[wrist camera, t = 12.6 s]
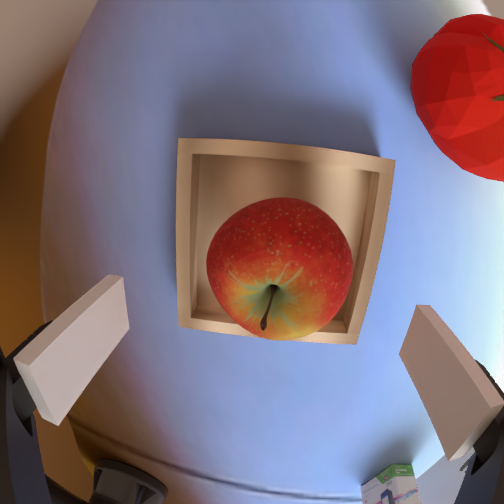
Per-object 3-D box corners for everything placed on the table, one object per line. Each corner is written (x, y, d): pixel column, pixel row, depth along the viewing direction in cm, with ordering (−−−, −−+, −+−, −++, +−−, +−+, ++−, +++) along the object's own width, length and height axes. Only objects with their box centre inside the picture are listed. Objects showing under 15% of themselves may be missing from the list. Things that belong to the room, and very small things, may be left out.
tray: (189, 308, 25) (178, 326, 22) (191, 139, 20) (178, 138, 18) (349, 324, 24) (356, 344, 21) (380, 158, 20) (395, 160, 17)
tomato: (480, 45, 14) (558, 17, 4) (506, 165, 18) (594, 187, 7) (368, 38, 16) (427, -31, 6) (403, 180, 20) (493, 211, 9)
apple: (355, 254, 21) (402, 329, 12) (268, 310, 23) (259, 405, 14) (293, 163, 19) (305, 175, 10) (203, 231, 22) (147, 293, 12)
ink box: (381, 486, 35) (389, 538, 24) (358, 486, 35) (364, 541, 24) (413, 463, 32) (427, 519, 21) (390, 463, 32) (403, 524, 21)
